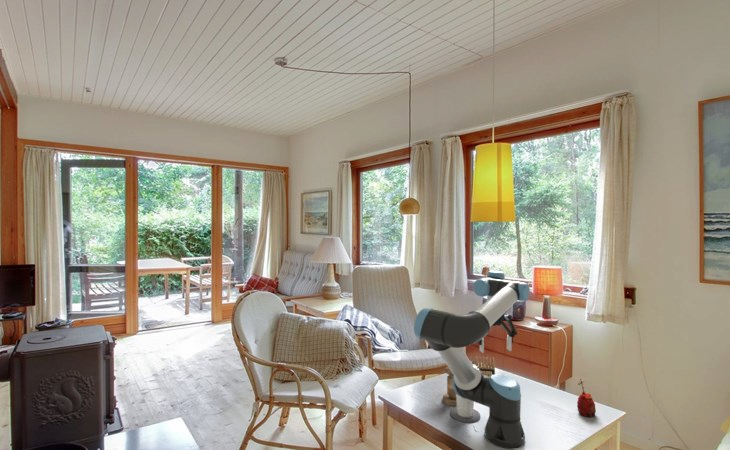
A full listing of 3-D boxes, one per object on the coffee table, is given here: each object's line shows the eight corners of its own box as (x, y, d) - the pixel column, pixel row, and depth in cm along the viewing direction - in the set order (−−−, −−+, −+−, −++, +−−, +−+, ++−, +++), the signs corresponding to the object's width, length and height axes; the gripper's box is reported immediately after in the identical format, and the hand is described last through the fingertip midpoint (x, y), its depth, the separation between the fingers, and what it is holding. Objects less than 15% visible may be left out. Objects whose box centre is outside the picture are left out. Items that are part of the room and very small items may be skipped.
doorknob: (467, 405, 177) (468, 373, 177) (447, 407, 176) (447, 374, 176) (459, 395, 187) (459, 365, 187) (439, 397, 186) (439, 366, 185)
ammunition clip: (494, 377, 209) (494, 356, 209) (495, 379, 207) (495, 357, 207) (474, 376, 211) (474, 354, 211) (474, 377, 209) (475, 355, 209)
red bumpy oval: (588, 419, 165) (588, 385, 165) (573, 412, 171) (573, 379, 171) (599, 415, 169) (599, 382, 168) (583, 408, 175) (584, 376, 175)
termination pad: (485, 421, 163) (485, 420, 163) (457, 424, 161) (457, 422, 161) (472, 406, 176) (472, 405, 176) (445, 409, 174) (445, 407, 174)
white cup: (468, 408, 174) (468, 386, 173) (477, 417, 166) (477, 394, 166) (452, 410, 171) (452, 388, 171) (461, 419, 164) (461, 396, 164)
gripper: (474, 307, 168) (473, 355, 168) (525, 305, 172) (525, 352, 172) (466, 304, 175) (466, 349, 176) (516, 302, 180) (515, 346, 180)
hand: (495, 351), depth 174 cm, fingers open, 13 cm apart
